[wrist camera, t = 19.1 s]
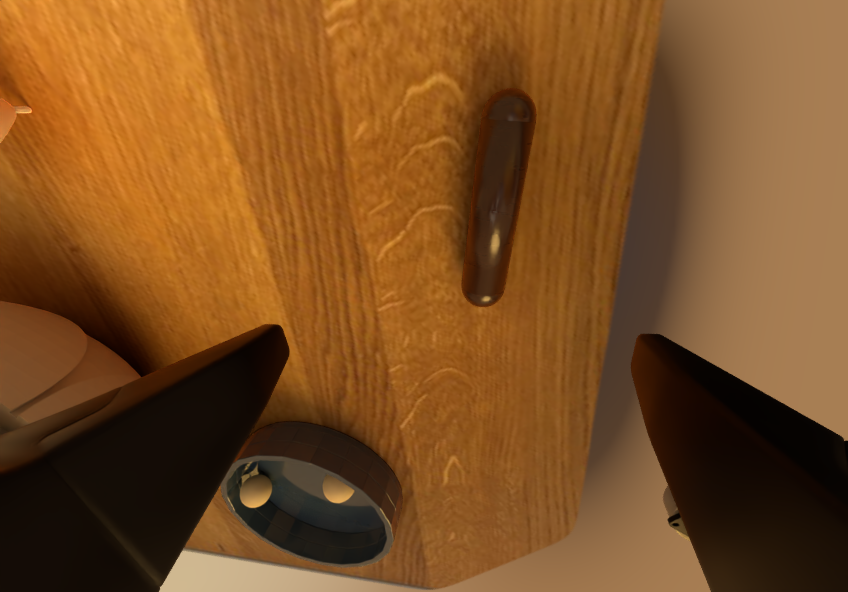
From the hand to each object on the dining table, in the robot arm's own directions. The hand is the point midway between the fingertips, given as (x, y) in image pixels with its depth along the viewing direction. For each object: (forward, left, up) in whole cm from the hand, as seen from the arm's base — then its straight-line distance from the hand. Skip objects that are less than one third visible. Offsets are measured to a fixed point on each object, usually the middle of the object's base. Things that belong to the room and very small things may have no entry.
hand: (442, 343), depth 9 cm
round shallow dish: (-2, +30, -12) cm, 32 cm away
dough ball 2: (-4, +26, -11) cm, 28 cm away
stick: (0, 0, -11) cm, 11 cm away
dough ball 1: (+2, +33, -10) cm, 35 cm away
